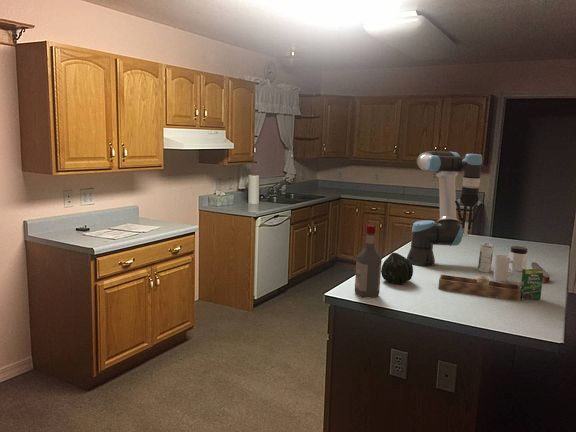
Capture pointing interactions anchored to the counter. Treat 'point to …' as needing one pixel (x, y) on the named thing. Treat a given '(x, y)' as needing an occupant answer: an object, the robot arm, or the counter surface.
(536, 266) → the canned food
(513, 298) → the box
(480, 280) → the birch block
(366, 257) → the liquor
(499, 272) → the mug
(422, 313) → the counter surface
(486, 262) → the syrup box
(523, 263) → the jar
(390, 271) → the squash
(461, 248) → the counter surface
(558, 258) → the counter surface
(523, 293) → the coffee box
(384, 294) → the counter surface
